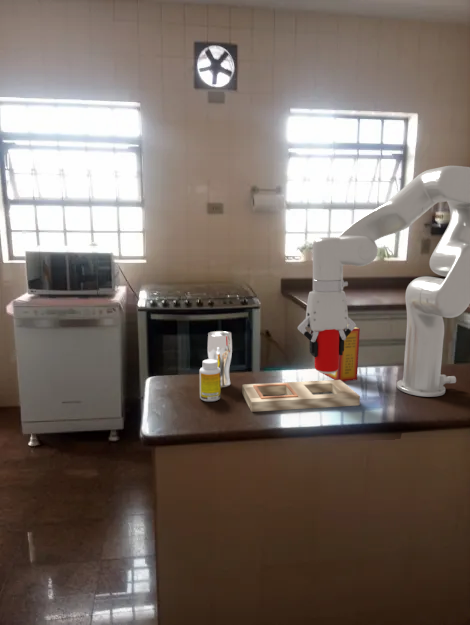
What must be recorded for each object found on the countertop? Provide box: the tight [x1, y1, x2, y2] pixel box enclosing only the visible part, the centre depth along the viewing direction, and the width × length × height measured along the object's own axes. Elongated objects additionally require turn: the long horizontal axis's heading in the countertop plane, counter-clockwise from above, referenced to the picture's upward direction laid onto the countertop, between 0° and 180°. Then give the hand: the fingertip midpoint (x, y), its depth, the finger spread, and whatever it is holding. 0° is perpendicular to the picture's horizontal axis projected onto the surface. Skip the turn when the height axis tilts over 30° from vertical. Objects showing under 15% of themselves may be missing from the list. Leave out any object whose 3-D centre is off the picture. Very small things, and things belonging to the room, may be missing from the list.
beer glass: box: [207, 330, 233, 388], centre depth 130 cm, size 7×7×15 cm
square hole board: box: [241, 379, 361, 413], centre depth 119 cm, size 28×13×3 cm, turn 99°
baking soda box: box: [322, 326, 361, 382], centre depth 138 cm, size 10×6×16 cm
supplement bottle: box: [198, 358, 222, 403], centre depth 119 cm, size 6×6×10 cm
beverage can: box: [314, 328, 339, 375], centre depth 119 cm, size 6×6×12 cm
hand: (326, 354), depth 119 cm, fingers closed on beverage can, 6 cm apart
